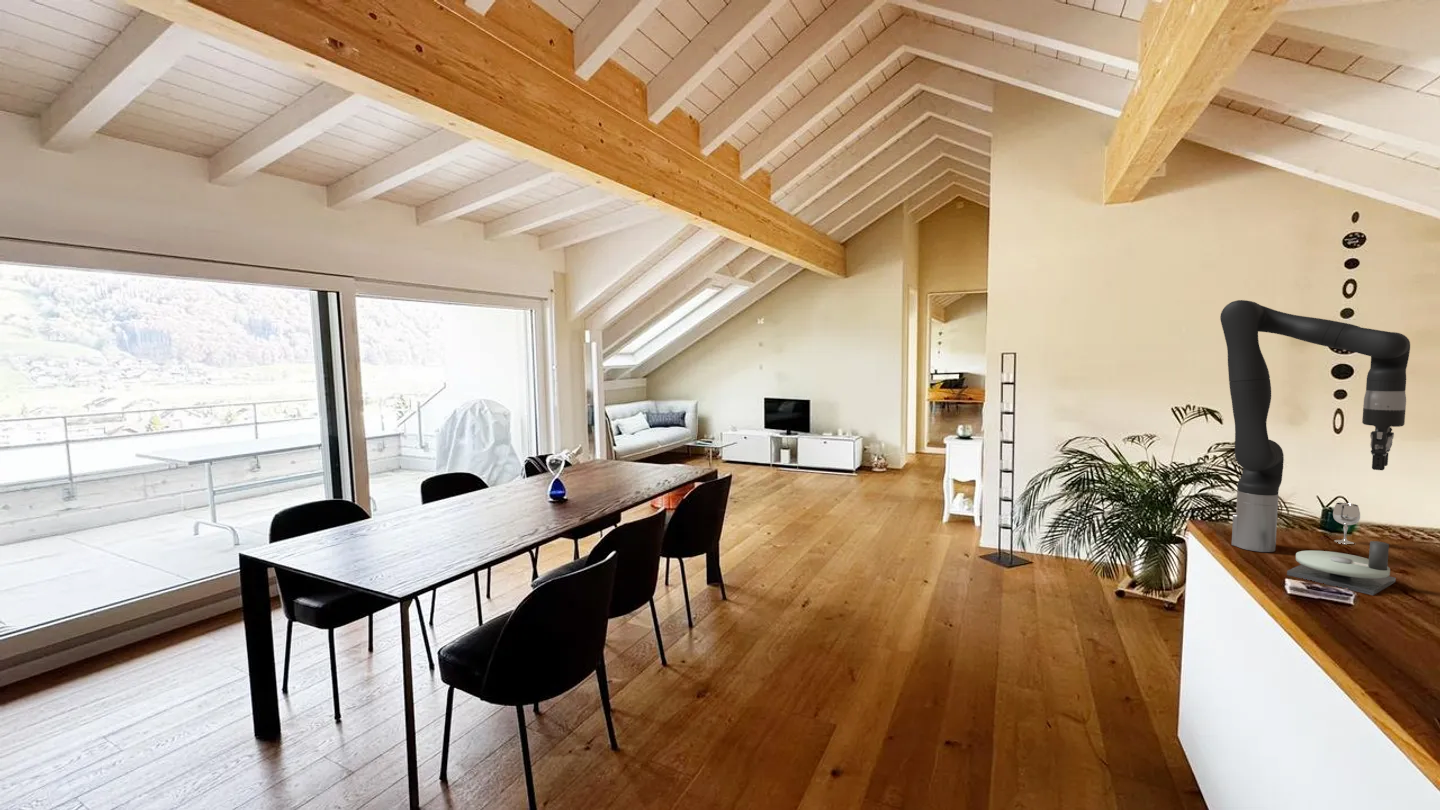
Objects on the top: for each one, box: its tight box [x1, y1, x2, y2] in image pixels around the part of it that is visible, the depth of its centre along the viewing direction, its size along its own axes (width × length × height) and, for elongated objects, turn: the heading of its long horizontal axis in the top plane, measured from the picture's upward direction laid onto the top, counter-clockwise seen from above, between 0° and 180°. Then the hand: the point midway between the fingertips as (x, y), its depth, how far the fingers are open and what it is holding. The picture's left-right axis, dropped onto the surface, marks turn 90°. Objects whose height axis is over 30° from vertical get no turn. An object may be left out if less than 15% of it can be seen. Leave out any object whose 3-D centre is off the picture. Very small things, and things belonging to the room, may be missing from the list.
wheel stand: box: [1286, 564, 1396, 596], centre depth 156 cm, size 16×16×3 cm
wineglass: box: [1332, 502, 1361, 545], centre depth 183 cm, size 6×6×12 cm
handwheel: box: [1295, 540, 1391, 578], centre depth 155 cm, size 17×17×8 cm
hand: (1379, 467), depth 159 cm, fingers open, 8 cm apart
